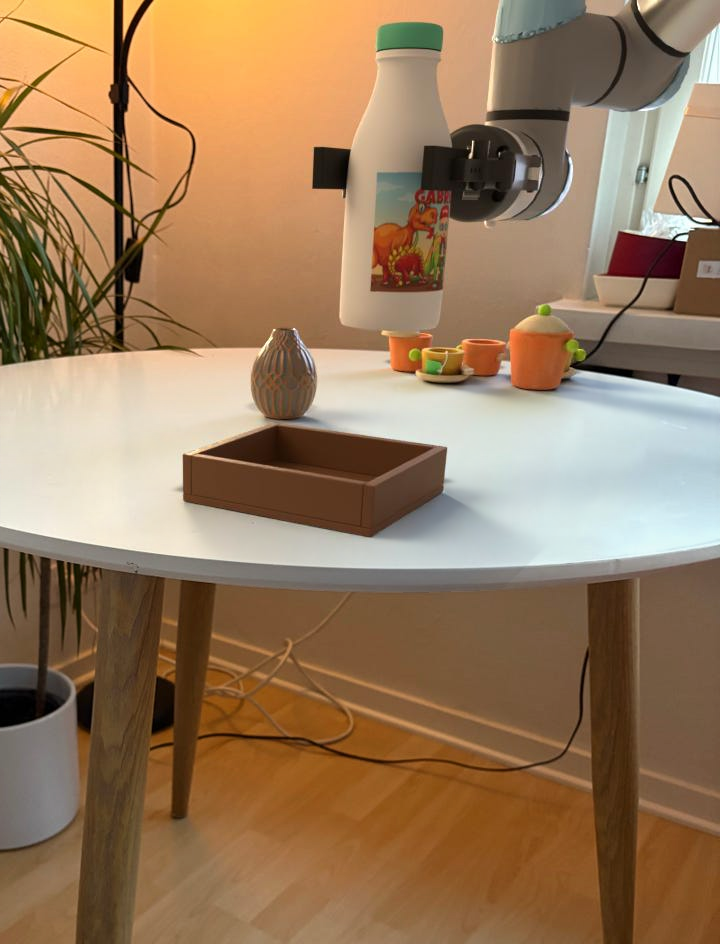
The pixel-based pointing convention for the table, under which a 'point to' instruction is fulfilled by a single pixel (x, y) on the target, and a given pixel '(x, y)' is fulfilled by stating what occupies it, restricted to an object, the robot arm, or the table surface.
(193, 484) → the tray
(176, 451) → the table surface
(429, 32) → the milk bottle
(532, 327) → the toy tea set
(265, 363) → the vase
